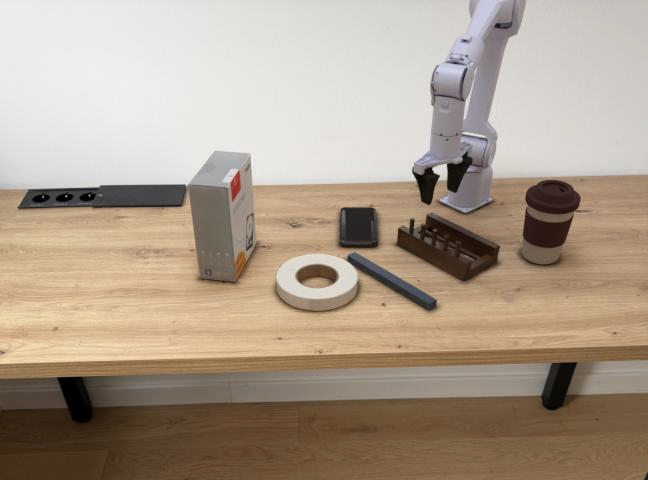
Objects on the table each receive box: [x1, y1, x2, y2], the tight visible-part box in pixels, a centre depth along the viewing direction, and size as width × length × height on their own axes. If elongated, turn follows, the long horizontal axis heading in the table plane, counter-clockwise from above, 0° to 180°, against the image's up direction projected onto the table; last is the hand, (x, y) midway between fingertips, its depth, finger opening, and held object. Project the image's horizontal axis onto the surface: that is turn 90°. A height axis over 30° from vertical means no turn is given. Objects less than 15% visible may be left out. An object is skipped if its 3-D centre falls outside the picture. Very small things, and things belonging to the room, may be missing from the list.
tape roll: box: [275, 253, 359, 311], centre depth 129 cm, size 16×15×3 cm
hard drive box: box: [187, 150, 258, 283], centre depth 131 cm, size 16×8×20 cm, turn 168°
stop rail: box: [346, 251, 438, 311], centre depth 130 cm, size 2×22×2 cm, turn 40°
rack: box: [396, 212, 501, 282], centre depth 136 cm, size 10×18×7 cm, turn 40°
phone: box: [339, 206, 379, 248], centre depth 146 cm, size 8×1×15 cm
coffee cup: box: [521, 179, 582, 265], centre depth 133 cm, size 10×10×15 cm
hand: (439, 196), depth 136 cm, fingers open, 7 cm apart
